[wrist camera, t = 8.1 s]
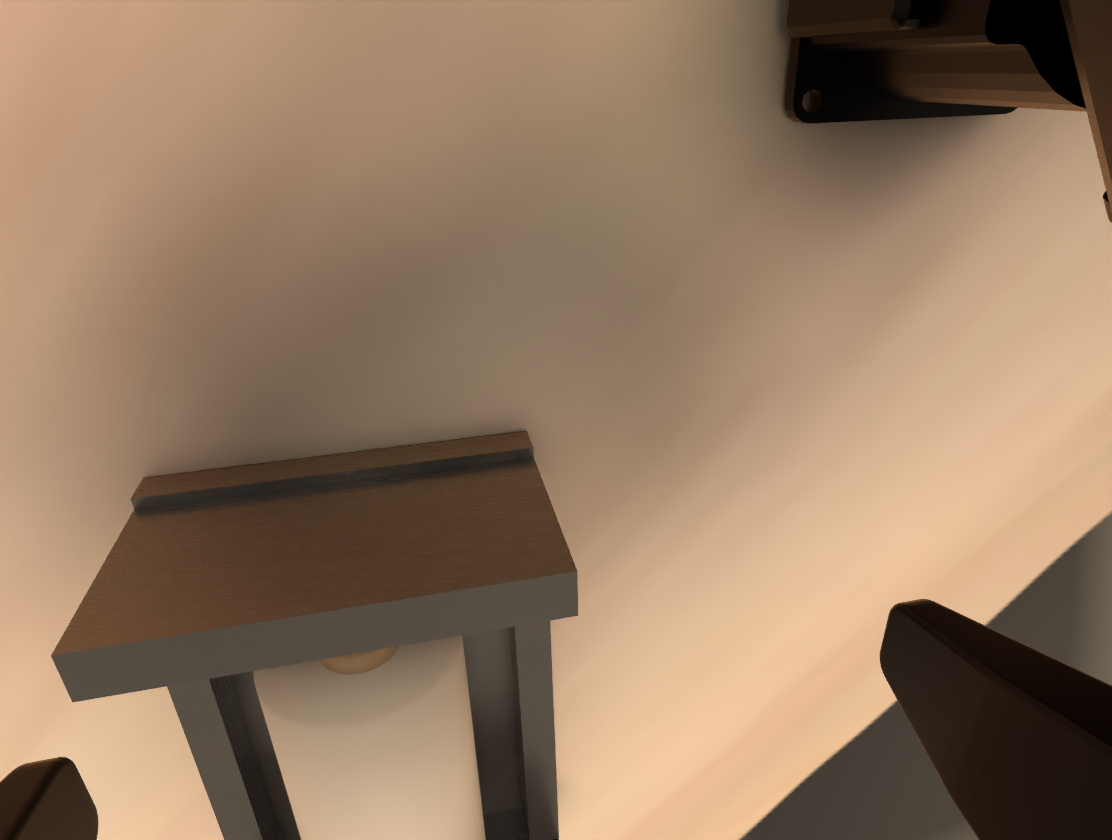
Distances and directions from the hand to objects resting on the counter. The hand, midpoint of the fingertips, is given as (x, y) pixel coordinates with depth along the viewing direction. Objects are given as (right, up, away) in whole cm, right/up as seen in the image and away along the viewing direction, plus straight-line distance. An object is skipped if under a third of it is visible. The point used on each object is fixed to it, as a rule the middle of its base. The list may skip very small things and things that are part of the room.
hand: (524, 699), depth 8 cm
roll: (-5, -5, +14) cm, 16 cm away
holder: (-5, -5, +15) cm, 17 cm away
